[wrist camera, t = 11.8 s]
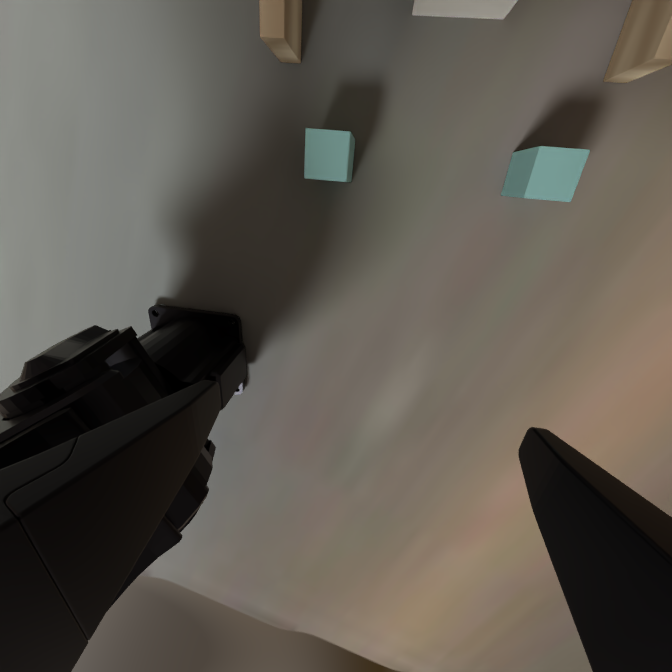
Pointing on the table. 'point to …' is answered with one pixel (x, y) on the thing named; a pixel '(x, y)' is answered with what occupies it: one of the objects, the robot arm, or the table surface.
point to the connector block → (464, 8)
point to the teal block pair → (521, 181)
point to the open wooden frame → (626, 65)
